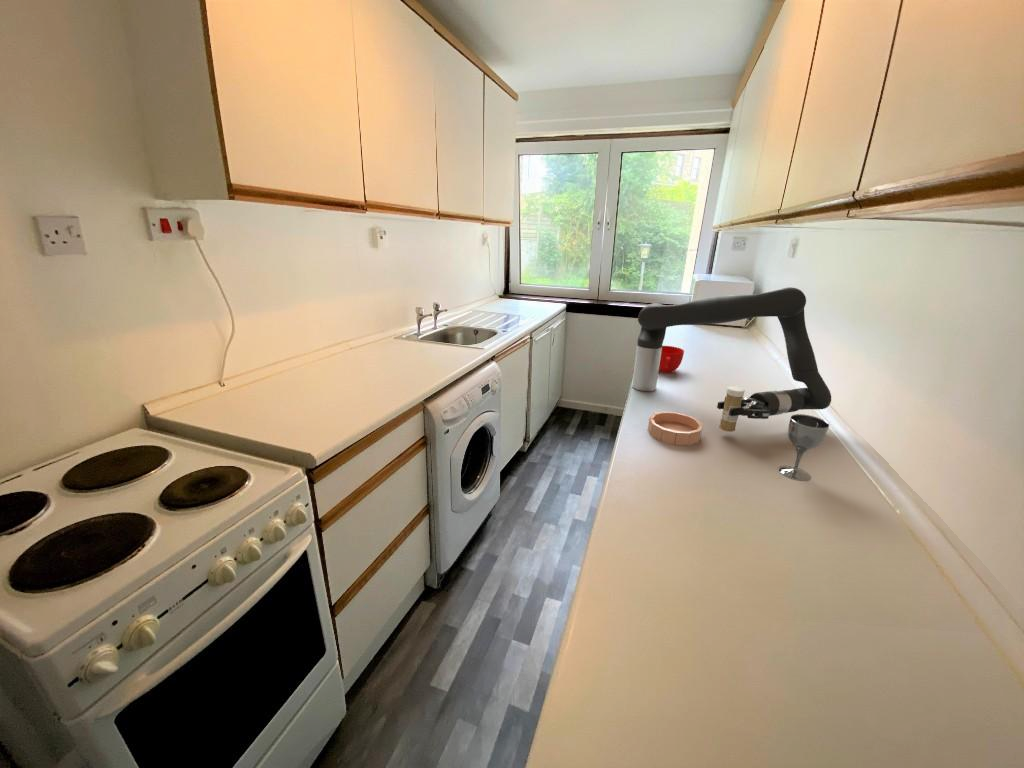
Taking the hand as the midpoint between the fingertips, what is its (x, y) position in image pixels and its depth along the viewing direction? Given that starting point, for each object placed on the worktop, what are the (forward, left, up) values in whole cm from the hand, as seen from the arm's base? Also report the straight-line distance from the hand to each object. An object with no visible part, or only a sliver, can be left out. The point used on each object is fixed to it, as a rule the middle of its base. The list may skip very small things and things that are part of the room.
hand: (724, 409), depth 123 cm
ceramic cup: (-61, +1, -9) cm, 62 cm away
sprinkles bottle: (-1, +3, -7) cm, 8 cm away
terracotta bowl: (-1, -13, -9) cm, 16 cm away
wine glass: (+19, +12, -9) cm, 24 cm away
